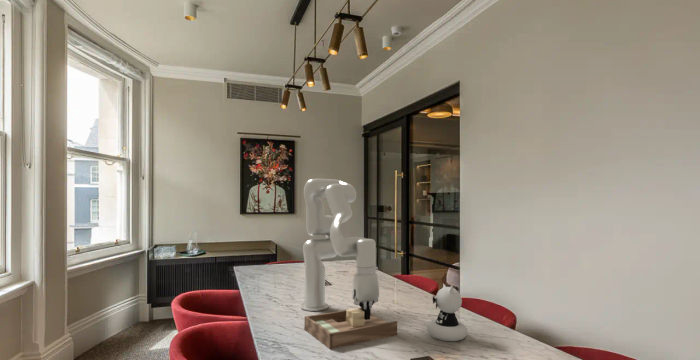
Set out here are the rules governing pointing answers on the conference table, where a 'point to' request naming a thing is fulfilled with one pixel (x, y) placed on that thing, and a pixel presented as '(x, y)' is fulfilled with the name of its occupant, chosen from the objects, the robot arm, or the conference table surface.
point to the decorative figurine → (447, 316)
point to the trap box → (347, 329)
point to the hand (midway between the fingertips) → (366, 318)
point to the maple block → (355, 317)
